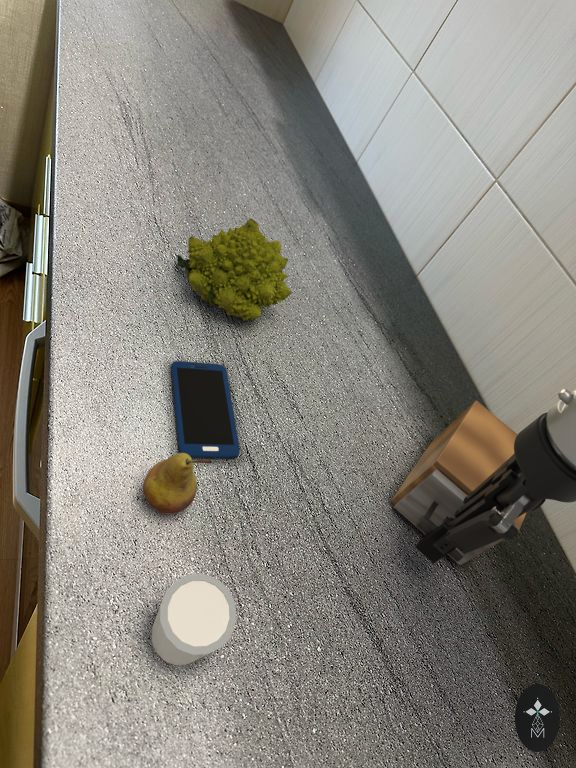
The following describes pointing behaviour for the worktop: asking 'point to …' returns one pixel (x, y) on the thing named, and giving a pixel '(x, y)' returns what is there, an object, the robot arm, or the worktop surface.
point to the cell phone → (204, 410)
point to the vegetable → (237, 270)
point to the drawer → (435, 507)
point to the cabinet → (466, 453)
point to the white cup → (193, 619)
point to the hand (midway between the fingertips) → (426, 552)
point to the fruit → (171, 484)
